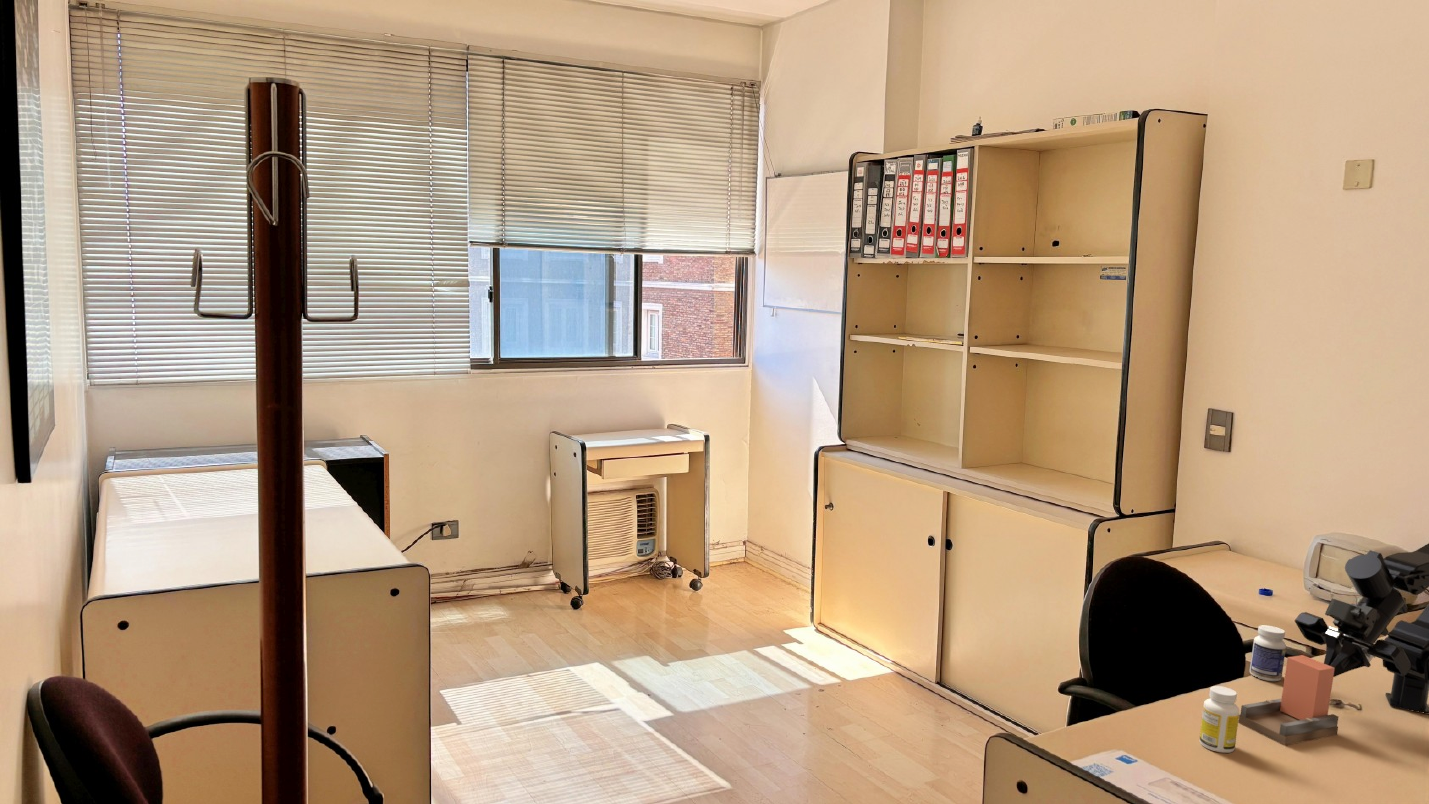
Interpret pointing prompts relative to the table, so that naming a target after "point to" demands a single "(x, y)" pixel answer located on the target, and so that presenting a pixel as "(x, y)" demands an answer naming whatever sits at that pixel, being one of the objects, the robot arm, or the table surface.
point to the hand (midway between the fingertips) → (1323, 677)
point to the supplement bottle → (1220, 720)
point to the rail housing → (1285, 723)
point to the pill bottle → (1268, 653)
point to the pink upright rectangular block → (1306, 688)
